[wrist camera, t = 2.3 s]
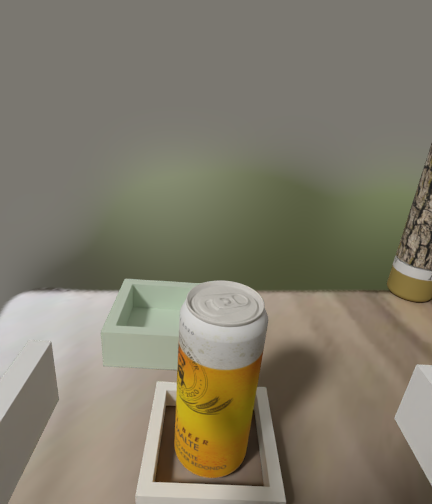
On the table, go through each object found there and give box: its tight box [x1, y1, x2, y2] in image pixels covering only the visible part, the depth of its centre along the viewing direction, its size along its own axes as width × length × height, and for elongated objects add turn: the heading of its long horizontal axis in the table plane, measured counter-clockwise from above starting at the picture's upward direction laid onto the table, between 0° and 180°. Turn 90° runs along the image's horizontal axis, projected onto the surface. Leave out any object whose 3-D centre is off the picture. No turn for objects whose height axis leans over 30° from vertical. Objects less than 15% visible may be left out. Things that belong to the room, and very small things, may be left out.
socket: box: [101, 279, 200, 370], centre depth 42 cm, size 11×11×4 cm
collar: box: [136, 382, 286, 504], centre depth 30 cm, size 10×10×2 cm
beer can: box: [174, 281, 268, 478], centre depth 27 cm, size 6×6×15 cm
